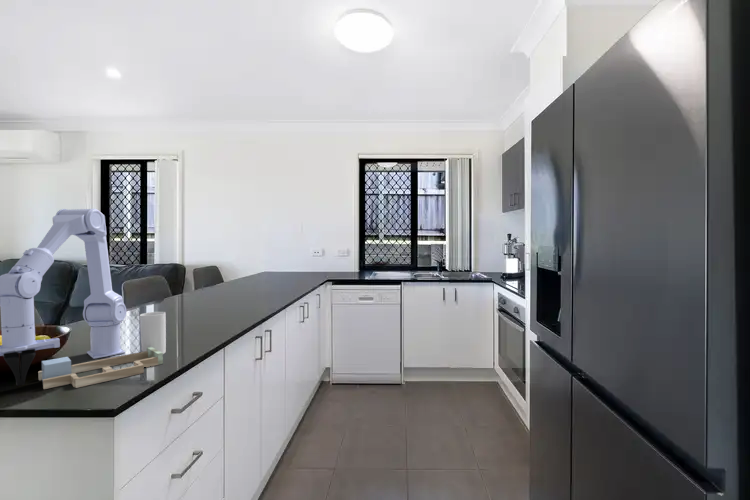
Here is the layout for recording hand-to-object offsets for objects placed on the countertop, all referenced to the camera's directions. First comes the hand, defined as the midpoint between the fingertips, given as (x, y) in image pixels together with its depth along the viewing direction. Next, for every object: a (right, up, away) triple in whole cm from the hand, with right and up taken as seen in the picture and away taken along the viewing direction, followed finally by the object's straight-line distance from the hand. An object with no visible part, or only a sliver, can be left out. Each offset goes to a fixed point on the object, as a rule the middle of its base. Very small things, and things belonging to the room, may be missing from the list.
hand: (20, 384), depth 92 cm
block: (+5, -1, +5) cm, 7 cm away
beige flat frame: (+13, 0, +10) cm, 16 cm away
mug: (+15, 0, +29) cm, 33 cm away
